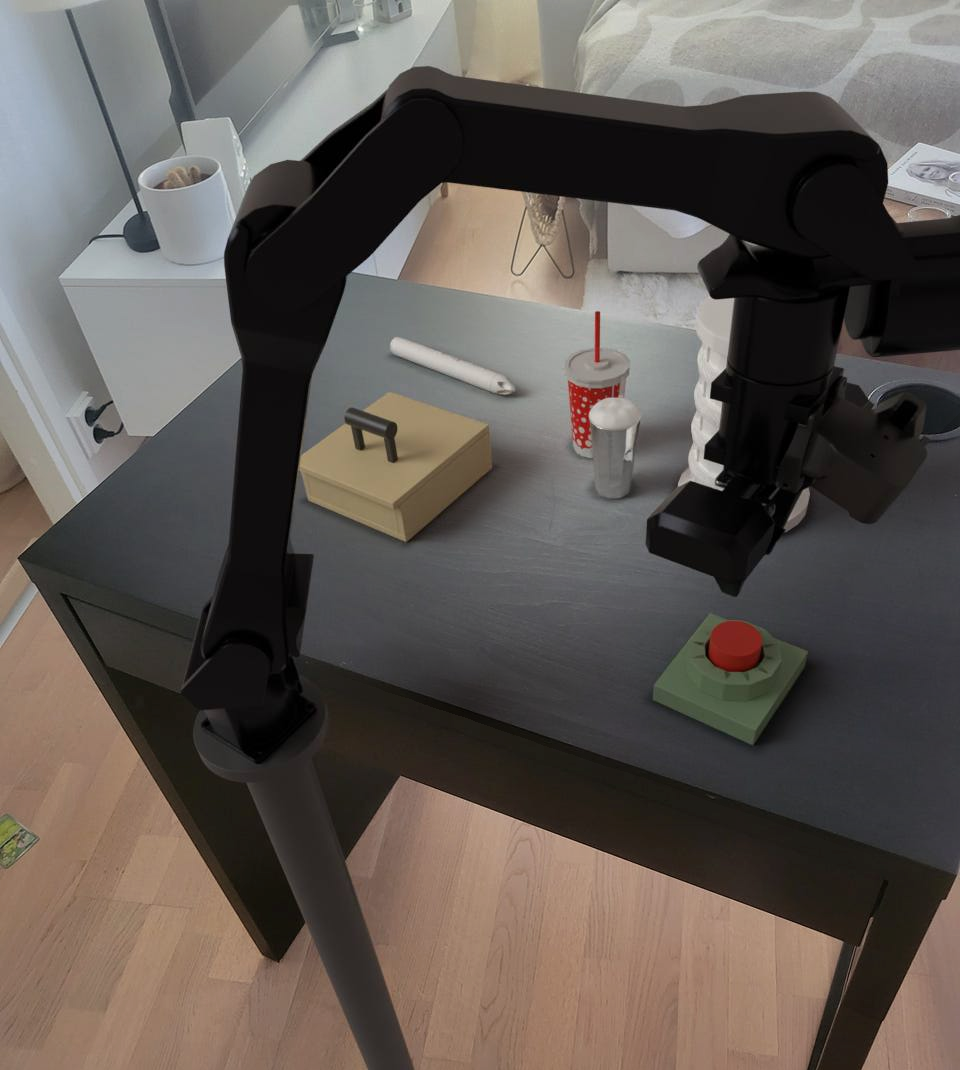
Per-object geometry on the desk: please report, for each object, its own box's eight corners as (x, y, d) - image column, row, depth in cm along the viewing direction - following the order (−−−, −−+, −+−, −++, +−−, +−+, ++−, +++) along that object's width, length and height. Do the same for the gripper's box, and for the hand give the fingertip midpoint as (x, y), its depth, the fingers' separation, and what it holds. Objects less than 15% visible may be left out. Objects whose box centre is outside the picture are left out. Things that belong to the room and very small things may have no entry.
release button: (745, 680, 67) (748, 663, 66) (699, 660, 69) (701, 643, 68) (767, 649, 69) (771, 632, 68) (722, 631, 71) (724, 613, 69)
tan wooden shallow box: (406, 542, 86) (399, 505, 83) (308, 500, 92) (298, 464, 89) (492, 467, 93) (489, 431, 90) (396, 433, 99) (390, 397, 96)
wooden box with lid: (394, 509, 83) (385, 463, 79) (292, 468, 88) (281, 423, 85) (489, 430, 90) (485, 385, 87) (390, 397, 96) (383, 353, 93)
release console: (753, 745, 67) (759, 713, 64) (652, 700, 71) (654, 667, 68) (804, 666, 72) (812, 634, 69) (708, 627, 75) (712, 595, 73)
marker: (522, 394, 102) (521, 375, 101) (509, 403, 101) (508, 383, 100) (403, 350, 111) (400, 331, 110) (391, 357, 110) (388, 338, 109)
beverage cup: (607, 422, 97) (609, 290, 87) (639, 451, 93) (645, 316, 83) (554, 440, 96) (551, 308, 86) (584, 470, 92) (584, 335, 82)
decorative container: (835, 507, 85) (880, 317, 72) (735, 557, 81) (763, 366, 68) (746, 449, 92) (772, 267, 79) (650, 492, 88) (662, 308, 76)
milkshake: (644, 473, 91) (649, 379, 83) (631, 506, 87) (635, 411, 80) (597, 467, 92) (598, 374, 85) (583, 499, 88) (583, 405, 81)
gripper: (861, 491, 44) (806, 711, 55) (985, 319, 54) (917, 535, 65) (646, 425, 49) (636, 639, 60) (796, 280, 59) (763, 486, 70)
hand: (746, 572), depth 63 cm, fingers open, 5 cm apart
